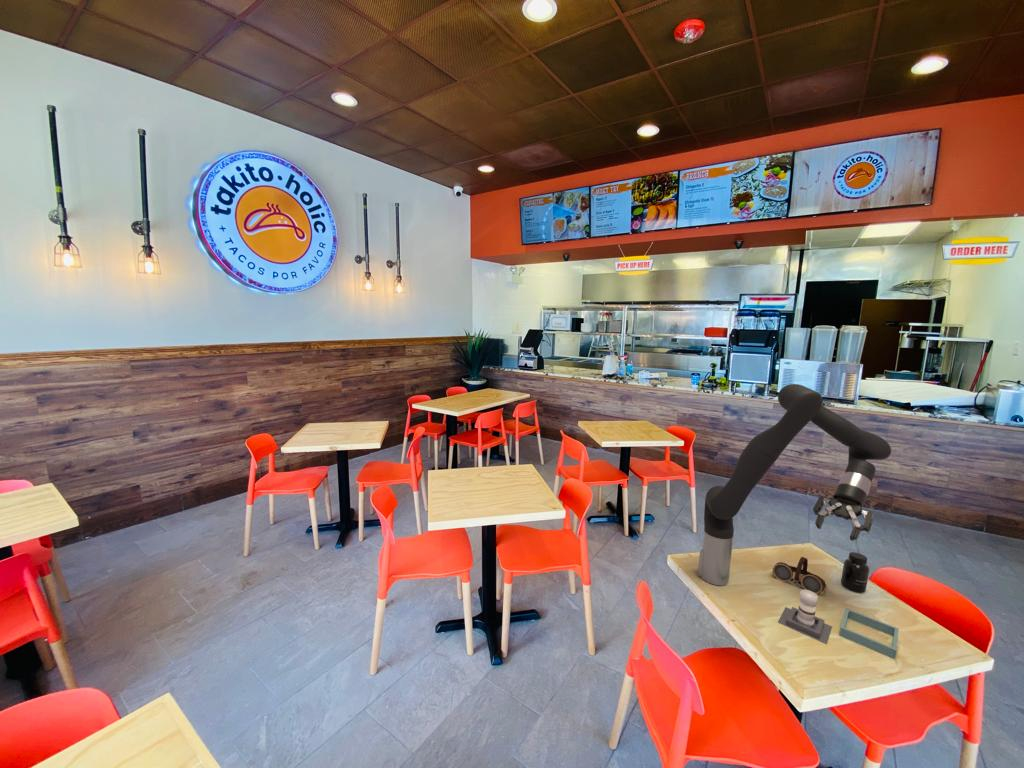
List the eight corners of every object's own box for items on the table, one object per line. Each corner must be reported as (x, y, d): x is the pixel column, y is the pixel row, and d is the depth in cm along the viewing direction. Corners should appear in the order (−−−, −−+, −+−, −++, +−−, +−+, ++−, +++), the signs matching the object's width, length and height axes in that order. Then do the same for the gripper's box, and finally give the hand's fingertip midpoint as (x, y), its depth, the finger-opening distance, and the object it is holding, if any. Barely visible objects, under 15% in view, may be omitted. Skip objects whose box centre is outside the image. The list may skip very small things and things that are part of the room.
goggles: (768, 578, 148) (774, 551, 149) (778, 572, 157) (783, 546, 157) (820, 600, 137) (826, 570, 137) (828, 592, 146) (833, 564, 146)
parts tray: (838, 638, 121) (840, 627, 120) (844, 618, 129) (846, 608, 129) (894, 662, 112) (896, 650, 112) (896, 639, 121) (898, 628, 120)
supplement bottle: (859, 596, 140) (865, 563, 138) (836, 584, 146) (841, 552, 144) (869, 590, 143) (875, 558, 142) (846, 579, 149) (851, 548, 148)
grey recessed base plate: (777, 625, 125) (778, 617, 125) (785, 609, 133) (786, 602, 132) (826, 647, 117) (827, 639, 117) (831, 629, 124) (833, 621, 124)
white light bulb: (795, 624, 125) (799, 593, 123) (798, 617, 128) (802, 587, 126) (812, 631, 122) (816, 600, 120) (814, 624, 125) (819, 594, 123)
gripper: (824, 476, 137) (805, 518, 132) (880, 491, 125) (861, 537, 120) (828, 488, 141) (810, 529, 136) (882, 503, 129) (865, 549, 124)
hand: (834, 533), depth 128 cm, fingers open, 8 cm apart
